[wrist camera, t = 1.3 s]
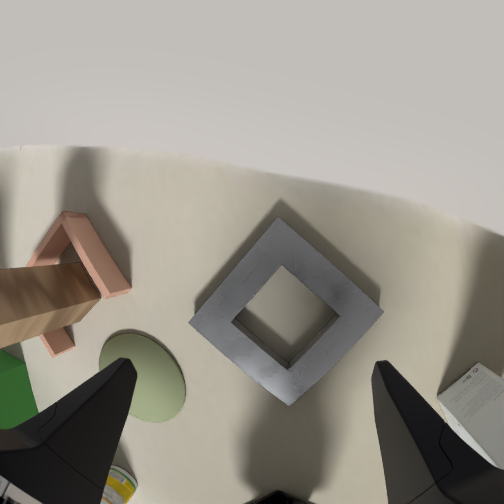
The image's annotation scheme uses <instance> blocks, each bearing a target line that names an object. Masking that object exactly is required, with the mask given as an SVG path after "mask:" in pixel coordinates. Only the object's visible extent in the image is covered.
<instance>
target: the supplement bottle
mask: <svg viewBox="0 0 504 504" xmlns="http://www.w3.org/2000/svg"><path fill="white" fill-rule="evenodd" d="M136 490H137V483H136V481H135V480H134V478H133V477H132V476H131V475H130V474H129V473H128V472H126V471H125V470H123V469H122V468H120V467H117V466H114V465H111V468H110V472H109V475H108V478H107V482H106V485H105V489H104V493H103V496H102V500H101V503H100V504H127V502H128V501H129V499H130V498H131V497H132V496H133V494H134V493H135V491H136Z"/></svg>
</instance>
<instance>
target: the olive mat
mask: <svg viewBox="0 0 504 504" xmlns="http://www.w3.org/2000/svg"><path fill="white" fill-rule="evenodd" d="M120 357H125V358H129V359H130V360H131V361H132V363H133V365H134V367H135V369H136V371H137V375H138V377H137V381H136V386H135V390H134V394H133V398H132V402H131V406H130V410H129V413H128V414H130V415H132V416H133V417H135V418H138V419H140V420H143V421H147V422H164V421H167V420H170V419H172V418H173V417H174V416H176V415H177V413H178V412H179V411H180V410H181V408H182V406H183V404H184V401H185V396H186V389H185V383H184V379H183V376H182V373H181V371H180V369H179V367H178V365H177V364H176V362H175V361H174V360H173V358H172V357H171V356H170V355H169V354H168V352H167V351H166V350H165V349H163V348H162V347H161V346H160V345H158V344H157V343H156V342H154V341H152V340H151V339H149V338H146V337H144V336H141V335H138V334H131V333H129V334H120V335H118V336H115V337H113V338H112V339H110V340H109V341H108V342H107V343H106V344H105V345H104V347H103V348H102V350H101V353H100V358H99V371H101V370H102V369H104V368H105V367H107V366H108V365H110V364H111V363H112V362H114V361H115V360H117V359H118V358H120Z"/></svg>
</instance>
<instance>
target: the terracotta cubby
mask: <svg viewBox="0 0 504 504" xmlns="http://www.w3.org/2000/svg"><path fill="white" fill-rule="evenodd" d="M70 242H72V244H73V246H74V248H75V250H76V251H77V253H78V255H79V257H80V259H81V260H82V262H83V264H84V266H85V267H86V269H87V271H88V272H89V274H90V276H91V277H92V279H93V281H94V282H95V284H96V286H97V287H98V289H99V290H100V292H101V294H102V295H103V297H104V298H105V299H107V298H111V297H114V296H118V295H122V294H125V293H127V292H128V291H129V290H130V289H131V286H130V285H129V283H128V282H127V280H126V279H125V277H124V276H123V274H122V273H121V271H120V270H119V268H118V267H117V265H116V264H115V262H114V261H113V259H112V257H111V256H110V254H109V253H108V251H107V249H106V248H105V246H104V245H103V243H102V241H101V240H100V238H99V236H98V235H97V233H96V231H95V229H94V228H93V226H92V224H91V223H90V221H89V219H88V217H87V216H86V214H83V213H75V212H68V211H62V213H61V214H60V215H59V217H58V218H57V220H56V221H55V222H54V224H53V225H52V227H51V228H50V230H49V231H48V232H47V234H46V235H45V237H44V238H43V240H42V241H41V243H40V244H39V246H38V247H37V249H36V251H35V252H34V254H33V255H32V257H31V259H30V260H29V262H28V264H27V265H26V267H33V266H45V265H54V264H55V263H56V261H57V260H58V259H59V257H60V256H61V254H62V253H63V252H64V250H65V249H66V248H67V246H68V245H69V244H70ZM39 336H40V338H41V340H42V342H43V343H44V345H45V347H46V348H47V350H48V352H49V353H50V355H51V357H52V358H53V357H55V356H57V355H60V354H62V353H64V352H66V351H69V350H71V349H73V347H74V346H75V345H74V343H73V342H72V340H71V339H70V337H69V335H68V334H67V332H66V331H65V329H64V327H62V328H59V329H56V330H53V331H50V332H47V333H44V334H41V335H39Z"/></svg>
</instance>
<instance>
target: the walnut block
mask: <svg viewBox="0 0 504 504" xmlns="http://www.w3.org/2000/svg"><path fill="white" fill-rule="evenodd" d="M100 299H101V297H100V295H99V294H98V292H97V291H96V289H95V287H94V286H93V284H92V282H91V281H90V279H89V277H88V276H87V274H86V272H85V271H84V269H83V267H82V265H81V264H80V262H79V263H67V264H56V265H45V266H33V267H22V268H11V269H0V348H3V347H6V346H9V345H12V344H15V343H18V342H21V341H24V340H27V339H30V338H33V337H36V336H39V335H41V334H44V333H47V332H50V331H53V330H56V329H59V328H62V327H65V326H68V325H71V324H74V323H77V322H79V321H81V320H82V319H83V317H84V316H85V315H86V314H87V313H88V312H89V311H90V310H91V309H92V308H93V306H94V305H95V304H96V303H97V302H98V301H99V300H100Z"/></svg>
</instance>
